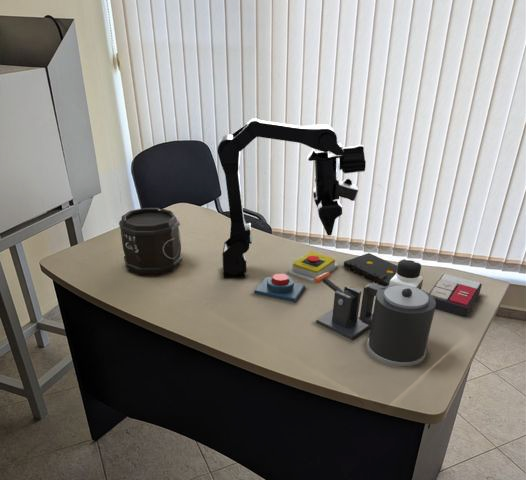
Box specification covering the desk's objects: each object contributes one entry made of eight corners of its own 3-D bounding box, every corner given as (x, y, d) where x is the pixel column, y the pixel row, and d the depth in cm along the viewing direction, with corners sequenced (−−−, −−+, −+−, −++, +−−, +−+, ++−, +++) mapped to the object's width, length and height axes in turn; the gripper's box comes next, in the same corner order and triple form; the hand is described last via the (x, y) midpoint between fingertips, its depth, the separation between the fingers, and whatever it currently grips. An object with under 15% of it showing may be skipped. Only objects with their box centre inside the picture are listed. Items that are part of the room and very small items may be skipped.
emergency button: (288, 261, 148) (314, 245, 158) (288, 274, 150) (313, 257, 160) (315, 269, 143) (340, 252, 153) (314, 283, 145) (338, 265, 156)
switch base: (315, 323, 126) (319, 290, 121) (337, 311, 132) (340, 278, 127) (351, 341, 120) (356, 306, 115) (372, 327, 125) (377, 293, 120)
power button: (270, 284, 137) (270, 278, 137) (275, 277, 141) (275, 272, 140) (284, 287, 136) (285, 281, 135) (290, 280, 140) (290, 275, 139)
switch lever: (312, 282, 124) (315, 275, 123) (324, 276, 127) (327, 269, 126) (343, 308, 120) (347, 301, 119) (355, 301, 123) (359, 294, 122)
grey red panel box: (427, 293, 133) (443, 271, 144) (424, 307, 136) (440, 284, 146) (469, 305, 128) (483, 281, 139) (465, 319, 131) (479, 294, 141)
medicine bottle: (411, 310, 133) (419, 270, 126) (385, 303, 136) (392, 263, 130) (419, 299, 138) (427, 260, 132) (394, 292, 141) (401, 254, 135)
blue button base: (254, 294, 138) (254, 283, 137) (266, 281, 146) (266, 270, 144) (294, 303, 135) (295, 292, 133) (304, 289, 142) (305, 278, 140)
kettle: (343, 344, 119) (351, 283, 110) (375, 323, 127) (384, 264, 118) (406, 375, 109) (420, 310, 100) (435, 350, 117) (451, 288, 109)
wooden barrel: (186, 252, 162) (183, 206, 154) (179, 277, 147) (175, 227, 138) (130, 252, 161) (124, 205, 153) (118, 277, 146) (111, 226, 138)
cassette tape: (343, 267, 155) (343, 260, 154) (368, 258, 161) (369, 252, 160) (387, 289, 143) (388, 282, 142) (412, 278, 149) (414, 272, 148)
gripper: (361, 182, 126) (361, 239, 134) (350, 163, 142) (350, 215, 150) (317, 186, 126) (320, 242, 134) (311, 167, 142) (314, 218, 150)
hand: (327, 229), depth 142 cm, fingers open, 9 cm apart
